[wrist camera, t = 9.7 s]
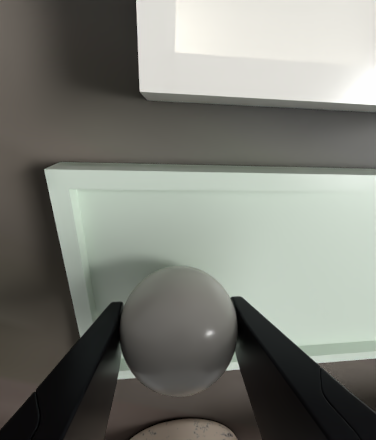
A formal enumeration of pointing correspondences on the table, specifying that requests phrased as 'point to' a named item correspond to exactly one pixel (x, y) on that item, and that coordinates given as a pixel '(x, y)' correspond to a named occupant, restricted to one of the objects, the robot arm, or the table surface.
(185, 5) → the open box
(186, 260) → the tray
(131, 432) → the table surface
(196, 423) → the teacup with lid
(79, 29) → the table surface
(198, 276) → the pebble
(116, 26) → the table surface
